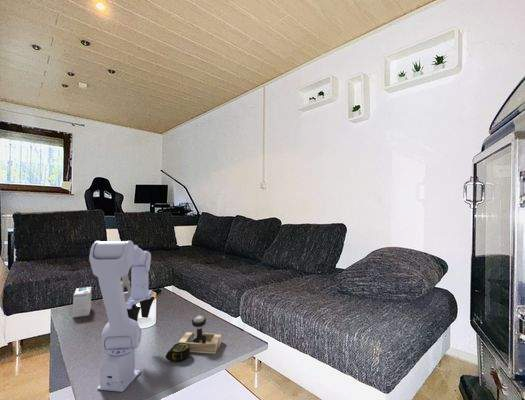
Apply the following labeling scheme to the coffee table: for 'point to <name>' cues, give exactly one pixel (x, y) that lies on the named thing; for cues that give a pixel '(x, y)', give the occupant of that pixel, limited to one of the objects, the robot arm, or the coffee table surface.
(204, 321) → the push button
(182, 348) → the tape measure
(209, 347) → the pocket block
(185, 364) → the coffee table surface
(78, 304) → the light bulb box
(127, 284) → the eiffel tower
